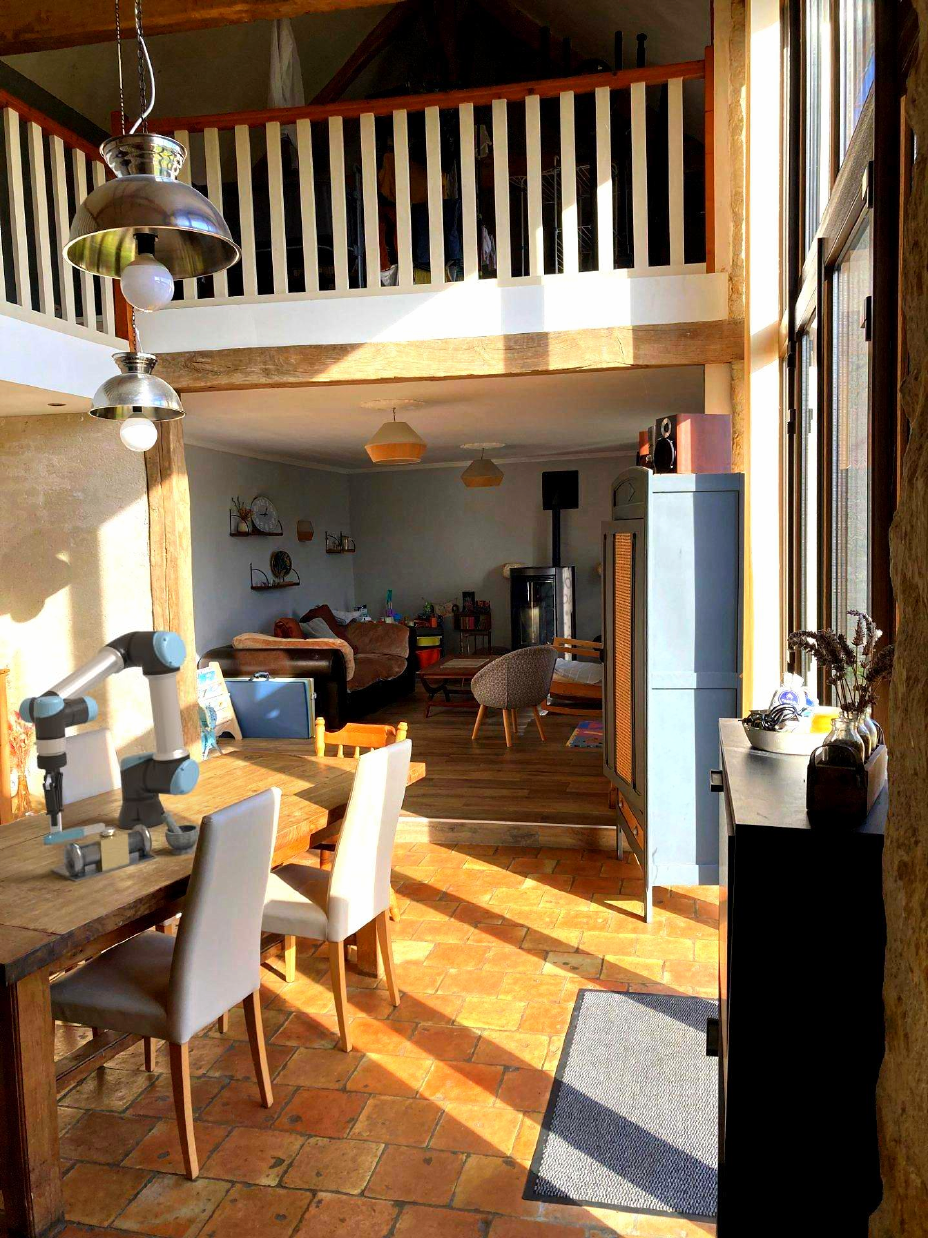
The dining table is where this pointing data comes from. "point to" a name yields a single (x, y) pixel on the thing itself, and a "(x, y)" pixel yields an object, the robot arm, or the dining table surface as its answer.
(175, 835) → the mortar and pestle
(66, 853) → the valve body
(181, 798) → the dining table surface
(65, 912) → the dining table surface
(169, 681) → the robot arm
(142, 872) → the dining table surface
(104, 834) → the lever
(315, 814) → the dining table surface
